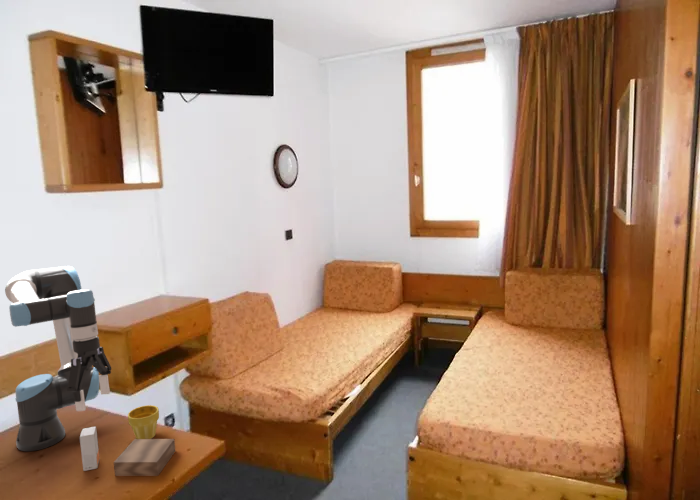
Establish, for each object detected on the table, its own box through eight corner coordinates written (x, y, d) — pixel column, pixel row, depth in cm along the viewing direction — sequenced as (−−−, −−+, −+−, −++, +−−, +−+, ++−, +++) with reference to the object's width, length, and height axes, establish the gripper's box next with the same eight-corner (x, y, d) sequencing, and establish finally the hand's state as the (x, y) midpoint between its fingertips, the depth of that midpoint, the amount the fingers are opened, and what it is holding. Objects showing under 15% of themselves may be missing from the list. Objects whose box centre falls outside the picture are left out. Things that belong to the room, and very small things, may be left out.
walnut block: (115, 476, 158) (113, 462, 157) (135, 452, 172) (134, 439, 171) (158, 476, 157) (156, 462, 156) (175, 452, 171) (174, 438, 170)
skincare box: (97, 468, 162) (93, 434, 160) (83, 471, 161) (78, 437, 159) (100, 458, 168) (96, 425, 166) (86, 461, 166) (82, 428, 164)
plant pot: (150, 445, 175) (147, 419, 174) (124, 443, 177) (121, 417, 176) (166, 430, 185) (164, 405, 184) (141, 428, 188) (139, 404, 186)
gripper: (72, 348, 147) (81, 417, 148) (117, 327, 171) (124, 387, 173) (48, 350, 147) (57, 418, 149) (96, 328, 172) (104, 388, 174)
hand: (93, 402), depth 161 cm, fingers open, 13 cm apart
